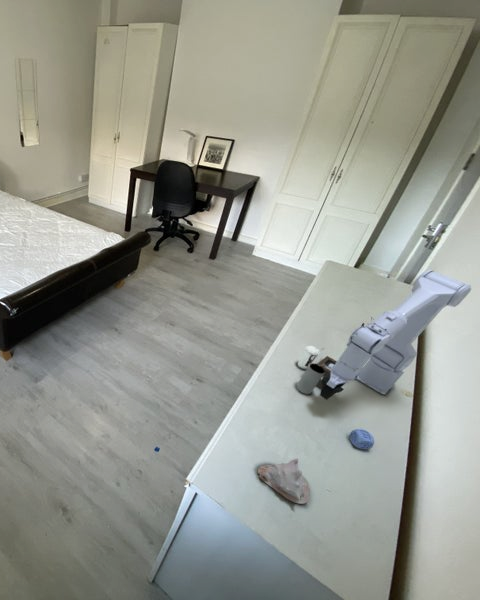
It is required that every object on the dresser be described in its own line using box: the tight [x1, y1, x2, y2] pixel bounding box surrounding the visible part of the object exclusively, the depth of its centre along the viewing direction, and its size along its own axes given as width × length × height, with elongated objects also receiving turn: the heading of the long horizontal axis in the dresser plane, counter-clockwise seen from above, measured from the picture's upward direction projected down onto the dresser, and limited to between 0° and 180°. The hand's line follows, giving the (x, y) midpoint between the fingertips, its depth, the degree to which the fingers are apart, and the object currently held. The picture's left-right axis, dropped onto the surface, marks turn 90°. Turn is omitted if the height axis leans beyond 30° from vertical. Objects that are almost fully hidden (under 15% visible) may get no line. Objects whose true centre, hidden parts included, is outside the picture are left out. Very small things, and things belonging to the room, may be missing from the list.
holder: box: [316, 355, 338, 390], centre depth 115 cm, size 8×16×3 cm, turn 124°
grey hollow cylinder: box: [296, 362, 325, 395], centre depth 108 cm, size 4×4×10 cm
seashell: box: [257, 457, 310, 505], centre depth 81 cm, size 10×12×9 cm
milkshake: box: [297, 345, 325, 370], centre depth 117 cm, size 4×5×10 cm
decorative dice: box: [349, 428, 375, 450], centre depth 94 cm, size 4×4×4 cm
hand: (329, 391), depth 104 cm, fingers open, 7 cm apart
